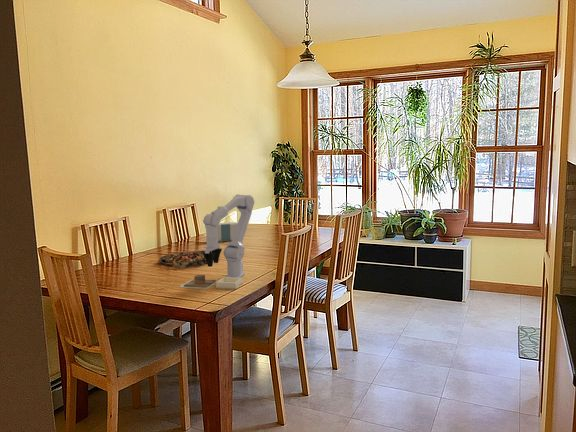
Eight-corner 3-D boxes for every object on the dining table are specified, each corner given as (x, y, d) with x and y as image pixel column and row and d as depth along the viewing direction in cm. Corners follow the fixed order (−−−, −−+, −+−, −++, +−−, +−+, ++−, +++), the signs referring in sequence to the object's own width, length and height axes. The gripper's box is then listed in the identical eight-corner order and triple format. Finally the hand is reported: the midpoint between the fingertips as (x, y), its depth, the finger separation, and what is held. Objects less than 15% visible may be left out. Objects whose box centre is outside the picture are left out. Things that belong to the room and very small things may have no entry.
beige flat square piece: (191, 279, 251) (191, 279, 251) (218, 281, 248) (218, 280, 248) (179, 287, 238) (179, 286, 238) (207, 289, 234) (207, 288, 234)
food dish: (203, 271, 274) (202, 258, 272) (149, 270, 280) (147, 257, 279) (223, 256, 308) (222, 244, 306) (174, 255, 314) (173, 244, 313)
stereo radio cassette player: (212, 243, 353) (211, 215, 350) (209, 241, 361) (208, 214, 358) (239, 240, 361) (239, 214, 358) (236, 238, 369) (235, 212, 366)
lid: (194, 280, 250) (193, 272, 249) (215, 281, 247) (215, 273, 246) (183, 286, 238) (183, 278, 238) (206, 287, 235) (206, 279, 235)
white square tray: (223, 282, 245) (223, 277, 245) (242, 283, 243) (242, 277, 242) (216, 288, 235) (216, 282, 235) (235, 289, 233) (235, 283, 233)
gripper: (210, 235, 250) (211, 261, 252) (198, 240, 236) (199, 267, 238) (223, 235, 248) (224, 261, 250) (212, 240, 234) (213, 268, 236)
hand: (213, 264), depth 244 cm, fingers open, 7 cm apart
